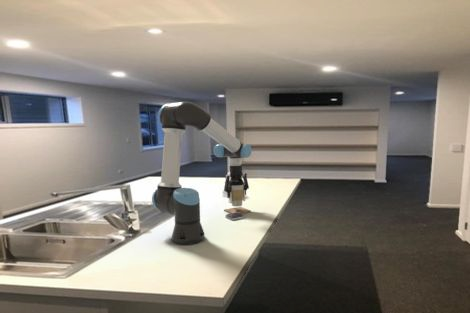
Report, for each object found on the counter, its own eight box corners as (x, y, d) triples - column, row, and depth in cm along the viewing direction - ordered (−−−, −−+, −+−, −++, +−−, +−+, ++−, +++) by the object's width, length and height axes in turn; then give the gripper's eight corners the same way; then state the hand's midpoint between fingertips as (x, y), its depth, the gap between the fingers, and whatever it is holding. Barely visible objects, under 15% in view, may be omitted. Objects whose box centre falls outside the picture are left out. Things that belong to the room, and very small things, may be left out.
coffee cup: (246, 203, 198) (246, 179, 197) (242, 207, 189) (242, 182, 188) (231, 203, 201) (230, 179, 200) (226, 206, 192) (226, 182, 190)
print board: (233, 215, 187) (233, 213, 187) (224, 210, 197) (224, 209, 197) (250, 212, 193) (250, 210, 193) (240, 207, 203) (240, 206, 203)
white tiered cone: (238, 197, 234) (237, 173, 232) (221, 197, 234) (220, 173, 232) (238, 193, 247) (238, 170, 245) (222, 194, 247) (221, 171, 245)
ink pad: (232, 220, 176) (231, 217, 176) (225, 217, 183) (225, 214, 183) (244, 218, 180) (244, 215, 180) (237, 215, 187) (237, 212, 187)
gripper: (222, 167, 184) (224, 205, 186) (254, 163, 194) (255, 200, 197) (217, 165, 191) (218, 203, 193) (247, 162, 201) (248, 198, 203)
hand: (237, 201), depth 195 cm, fingers closed on coffee cup, 9 cm apart
